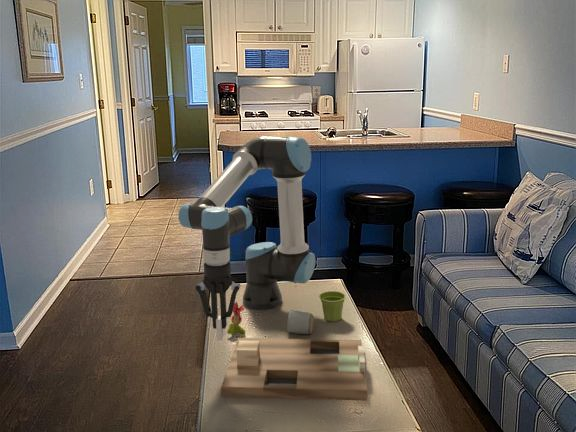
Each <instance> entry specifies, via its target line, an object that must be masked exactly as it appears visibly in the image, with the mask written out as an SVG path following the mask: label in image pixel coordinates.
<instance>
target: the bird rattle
mask: <svg viewBox="0 0 576 432" xmlns="http://www.w3.org/2000/svg"><path fill="white" fill-rule="evenodd" d="M244 310H245V308H244V304H242V305H240V306H239V303H238V301H235V303H234V308H233V312H232V315H231V321H230V322H231V323H230V324H229V325H228V326H229V327H228V329H227V332H226V334H229V335H231V336H234V334H235V333H236V332H238V333H240V334H243V335H246V329H244V328H243V327H242V326H241V325H240V324H241V322H242V321H243V320H242V316H241V312H242V311H244Z"/></svg>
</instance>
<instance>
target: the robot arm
mask: <svg viewBox="0 0 576 432" xmlns="http://www.w3.org/2000/svg"><path fill="white" fill-rule="evenodd" d="M311 162H312V151H311V147H310V145H309V143H308V142H307V141H306V138H305V139H304V138H303V137H300V136H299V137H298V136H294V135H290V136H289V135H262V136H258V137H255V138H253V139H250V140H249V141H247V142H246V143H245V144H243V145H242V146H241V147H239V149H238V150H237V151H236V152H235V153H234V154H233V155H232V161H230V163H229V164H227V166H226V167H225V168H224V169H223V170H222V172H221V173H220V174H219V175H218V176H217V178H215V179H214V180H213V182H212V183H211V184H210V185H209V186H208V188H206V190H205V191H204V192H203V193H202V194H201V195H200V196H199V198H198V199H197V200H196V201H195V202H193V203H184V204H182V205H181V207H180V208H179V211H178V213H177V214H178V221H179V224H180V226H182V227H183V228H187V229H192V230H200V231H201V233H202V252H203V253H202V256H203V262H204V263H203V275H204V276H203V279H202V282H198V283H197V285H196V286H195V290H196V291H197V292H198V294H199V297H200V300H201V304H202V306H203V307H202V308H203V310H204V314H205V316H206V318H211V319H212V327H213V329H215V331H216V341H222V340H224V335H225V334H224V330H225V329H226V327H227V318H232V316H233V308H234V303H236V298H237V293H238V292H239V290H240V288H241V284H240V283H235V282H234V280H233V278H232V275H231V273H232V272H231V262H230V261H231V248H230V245H231V244H230V237H232V236H234V235H237V234H240V233H242V232H244V231H246V230H248V228H249V227H250V226H252V222H253V215H252V212H251V210H250V209H249V208H247V207H246V206H244V205H236V206H233V207H225V205H226V203H228V202H229V200H230V199H231V197H232V196H233V195H235V193H236V192H237V191H238V189H239V188H240V187H241V186H242V184H243V183H244V182H245V181H246V180H247V179H248V177H249V176H252V175H255V173H257V171H258V170H264V169H265V170H271V173H272V178H274V179H275V181H276V182H277V200H278V218H279V231H280V244H279V245H277V244H276V243H275V242H273V241H272V242H271V241H263V242H258V243H254V244H250V245H249V246H247V248H246V249H245V258H244V259H245V268H246V269H245V270H246V271H245V272H246V285H245V288H244V291H243V294H242V305H243V306H245V307H246V308H249V309H252V310H269V309H274V308H276V307H278V306H280V305H281V304H282V303H283V296H282V292H281V290H280V289H281V288H280V286H279V284H278V281H281V282H286V283H287V282H289V283H294V284H306V283H308V282H309V281H310V279H311V278H312V276H313V273H314V271H315V266H316V256H315V253H312V252H310V249H309V248H310V245H309V244H308V243H306V242H305V229H304V227H305V225H304V206H303V186H302V185H303V183H302V179H303V178H304V177H305V176H306V172H307V171H309V170H310V168H311ZM230 287H231V289H230ZM206 289H207V290H208V292H210V299H211V300H210V301H211V303H210V301H209V299H208V298H209V297H208V294H207V292H206ZM229 289H230V290H231V291H232V292H231V294H230V300H229V304H228V309H227V291H228V290H229ZM218 295H219V305H220V307H219V308H220V309H219V310H220V315H219V312H218ZM210 304H211V305H210Z"/></svg>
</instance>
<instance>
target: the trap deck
mask: <svg viewBox="0 0 576 432" xmlns="http://www.w3.org/2000/svg"><path fill="white" fill-rule="evenodd" d="M240 340H241V341H259V342H260V358H259V362H258V366H237V353H236V350H237V347H238V344H239V341H240ZM362 344H363V342H362V339H318V338H316V339H315V338H314V339H313V338H309V339H308V338H306V339H305V338H265V337H263V338H262V337H261V338H259V337H255V338H254V337H238V338H237V340H236V344H235V346H234V349H233V352H232V354H231V357H230V360H229V363H228V366H227V368H226V372H225V374H224V378H223V380H222V383H221V387H220V388H221V389H220V390H221V391H220V392H221V397H222V398H223V397H226V398H229V397H230V398H231V397H232V398H257V399H258V398H263V399H301V400H303V399H305V400H306V399H307V400H336V401H337V400H339V401H340V400H342V401H367V400H368V387H367V379H366V378H367V377H366V358H365V357H366V356H365V352H364V345H362Z"/></svg>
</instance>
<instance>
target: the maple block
mask: <svg viewBox="0 0 576 432" xmlns="http://www.w3.org/2000/svg"><path fill="white" fill-rule="evenodd" d="M236 353H237V366H258V362H259V358H260V342H259V341H241V340H240V341H239V344H238V347H237V350H236Z"/></svg>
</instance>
